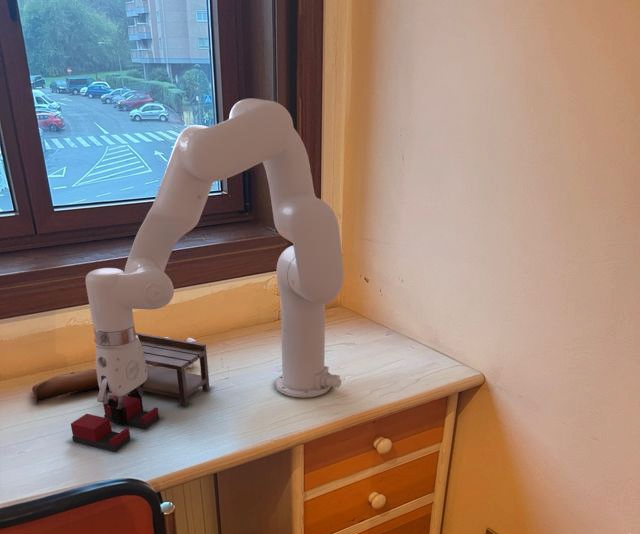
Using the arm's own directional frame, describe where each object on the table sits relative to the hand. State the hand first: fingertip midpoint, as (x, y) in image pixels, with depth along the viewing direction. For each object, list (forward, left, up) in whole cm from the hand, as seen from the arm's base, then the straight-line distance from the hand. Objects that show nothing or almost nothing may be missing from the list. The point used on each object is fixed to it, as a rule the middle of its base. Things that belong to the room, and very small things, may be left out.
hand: (128, 417), depth 132 cm
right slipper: (-1, 0, 0) cm, 1 cm away
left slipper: (-1, +9, 0) cm, 10 cm away
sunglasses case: (+19, -7, 0) cm, 21 cm away
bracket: (+9, -29, -1) cm, 30 cm away
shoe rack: (+2, -14, 0) cm, 14 cm away
